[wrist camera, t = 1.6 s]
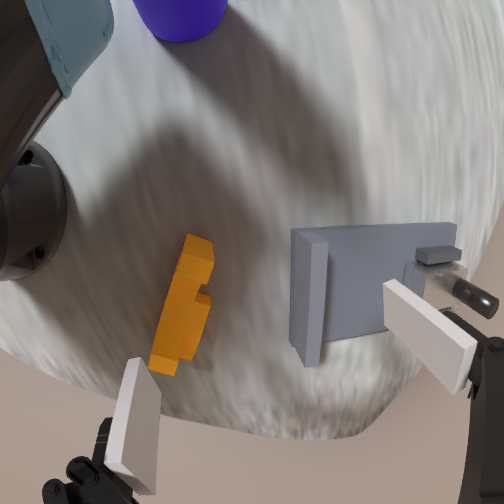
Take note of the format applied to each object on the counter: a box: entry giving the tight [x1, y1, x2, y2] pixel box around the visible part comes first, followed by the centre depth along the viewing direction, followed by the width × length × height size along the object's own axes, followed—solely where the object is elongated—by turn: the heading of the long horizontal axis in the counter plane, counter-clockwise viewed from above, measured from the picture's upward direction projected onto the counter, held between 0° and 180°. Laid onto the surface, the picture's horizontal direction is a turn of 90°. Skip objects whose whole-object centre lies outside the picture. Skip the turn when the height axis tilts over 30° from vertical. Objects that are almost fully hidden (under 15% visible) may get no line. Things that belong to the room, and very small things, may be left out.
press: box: [289, 222, 462, 368], centre depth 31 cm, size 22×13×6 cm, turn 92°
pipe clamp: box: [147, 233, 215, 377], centre depth 28 cm, size 12×4×6 cm, turn 158°
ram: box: [403, 261, 499, 319], centre depth 28 cm, size 7×5×10 cm, turn 92°
